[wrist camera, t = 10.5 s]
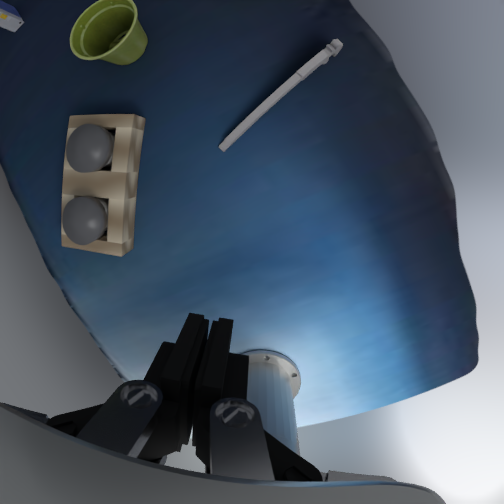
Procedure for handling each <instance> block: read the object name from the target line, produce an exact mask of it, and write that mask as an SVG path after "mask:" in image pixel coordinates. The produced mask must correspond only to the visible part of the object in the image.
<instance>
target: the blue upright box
mask: <svg viewBox="0 0 504 504" xmlns="http://www.w3.org/2000/svg"><path fill="white" fill-rule="evenodd" d="M23 23H24V21H23V20H22V18H21V17H20V15H19V13H18V12H17V10H16V8H15V7H13V6H11V5H9V4H7V3H5V2H3V1H1V0H0V27H2V28H5V29H7V30H10V31H12V32H16V30H17V29H18V28H19V27H20V26H21V25H22V24H23Z"/></svg>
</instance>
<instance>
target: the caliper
mask: <svg viewBox="0 0 504 504" xmlns="http://www.w3.org/2000/svg"><path fill="white" fill-rule="evenodd" d="M342 46H343V44H342V43H341V42H340V41H339V40H338V39H336V40H335V39H334V40H333V41H332V42H331V44H327V45H326V48H325V49H323V50H322V51H321V52H319V53H318V54H317V55H316V56H314V57H313V58H312V59H311V60H310V61H308V62H307V63H306V64H305V65H304V66H302V67H301V68H300V69H299V70H298V71H297V72H296V73H295V74H294V75H293V76H292V77H290V78H289V79H288V80H287V81H286V82H285V83H284V84H282V85H281V86H280V87H279V88H278V89H277V90H276V91H275V92H274V93H272V94H271V95H270V96H269V97H268V98H267V99H266V100H265V101H264V102H263V103H262V104H260V105H259V106H258V107H257V108H256V109H255V110H254V111H253V112H252V113H251V114H250V115H249V116H248V117H247V118H246V119H245V120H244V121H243V122H241V123H240V124H239V125H238V126H237V127H236V128H235V129H234V130H233V131H232V132H231V133H230V134H229V135H228V136H227V137H226V138H225V139H224V141H223V142H222V143H221V144H220V145H219V148H220V149H221V150H222V151H223V152H224V151H225V150H227V149H228V148H229V147H230V145H232V144H233V143H234V142H235V141H236V140H237V139H238V138H239V137H240V136H241V135H242V134H243V133H244V132H245V131H247V130H248V129H249V128H250V127H251V126H252V125H253V124H254V123H255V122H256V121H257V120H258V119H259V118H260V117H261V116H262V115H263V114H264V113H266V112H267V111H268V110H269V109H270V108H271V107H272V106H273V105H274V104H275V103H276V102H278V101H279V100H280V99H281V98H282V97H283V96H284V95H285V94H287V93H288V92H289V91H290V90H291V89H292V88H293V87H294V86H296V85H297V84H298V83H299V82H300V81H301V80H304V79H305V78H306V77H307V76H308V75H309V74H311V73H312V72H313V71H314V70H315V69H316V68H317V67H319V66H320V65H321V64H326V63H327V62H328V59H329V57H330V56H331V55H333V56H334V57H335V56H336V55H337V54H338V52H339V51H340V50H341V48H342Z"/></svg>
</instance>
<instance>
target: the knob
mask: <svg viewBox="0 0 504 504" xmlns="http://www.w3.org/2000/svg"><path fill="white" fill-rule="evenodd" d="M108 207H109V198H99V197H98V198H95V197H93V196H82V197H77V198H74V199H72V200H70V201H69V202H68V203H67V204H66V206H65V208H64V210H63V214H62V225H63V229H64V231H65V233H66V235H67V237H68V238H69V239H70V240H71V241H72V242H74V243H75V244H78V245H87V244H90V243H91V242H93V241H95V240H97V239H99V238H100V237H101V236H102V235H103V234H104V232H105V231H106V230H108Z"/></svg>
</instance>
